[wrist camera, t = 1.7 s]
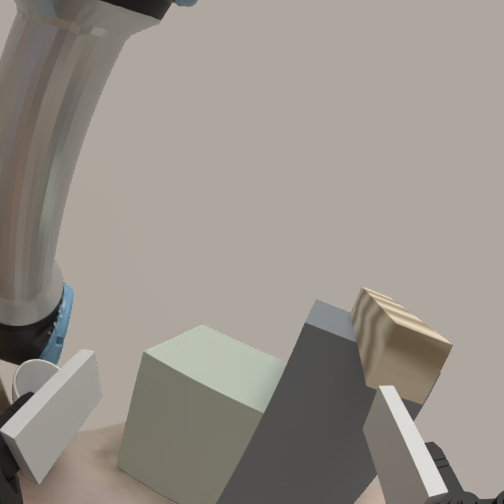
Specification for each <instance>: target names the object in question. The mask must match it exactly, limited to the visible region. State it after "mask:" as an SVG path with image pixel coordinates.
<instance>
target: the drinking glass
mask: <svg viewBox="0 0 504 504" xmlns="http://www.w3.org/2000/svg"><path fill="white" fill-rule="evenodd" d="M59 370H60V368H59V367H57V366H56V365H54V364H53V363H51V362H49V361H46V360H41V359H31V360H28V361H25V362H23V363H22V364H21V365H20V366H19V367H18V368H17V369H16V371H15V374H14V377H13V385H12V399H13V404H14V402H15V401H16V400H17V399H18V398H19V397H20V396H22V395H24V394H26V393H28V392H30V391H31V392H33V393H36V392H37V391H38V390H39V389H40V388H41V387H42V386H43V385H44V384H45V383H46V382H47V381H48V380H49V379H50V378H51V377H52V376H54V375H55V374H56V373H57V372H58V371H59Z"/></svg>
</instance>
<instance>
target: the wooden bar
mask: <svg viewBox="0 0 504 504" xmlns="http://www.w3.org/2000/svg"><path fill="white" fill-rule="evenodd" d="M350 316H351V320H352V324H353V328H354V332H355V337H356V341H357V345H358V350H359V354H360V358H361V363H362V368H363V372H364V377H365V382H366V386H368V387H371V388H374V389H376V390H377V389H378V386H394V387H395V389H396V391H397V393H398V395H399V397H400V398H403V399H406V400H410V401H413V402H416V403H419V404H422V405H423V403H424V401H425V399H426V398H427V396H428V394H429V392H430V390H431V389H432V387H433V385H434V383H435V381H436V379H437V377H438V375H439V373H440V371H441V369H442V367H443V365H444V363H445V361H446V359H447V357H448V355H449V353H450V350H451V348H452V346H453V345H452V344H451V343H450V342H448V341H447V340H446V339H444V338H443V337H441V335H439V334H438V333H437V332H435V331H434V330H433V329H431V328H430V327H429V326H427V325H426V324H425V323H423V322H422V321H420V320H419V319H418V318H417V317H415V316H414V315H413V314H411V313H410V312H409V311H407V310H406V309H405V308H403V307H402V306H401V305H399V304H398V303H397V302H395V301H394V300H393V299H391V298H389V297H388V296H385V295H382V294H380V293H377V292H375V291H372V290H370V289H367V288H365V287H361V290H360V292H359V295H358V297H357V300H356V302H355V305H354V307H353V309H352V312H351V314H350Z"/></svg>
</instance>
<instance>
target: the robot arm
mask: <svg viewBox="0 0 504 504" xmlns="http://www.w3.org/2000/svg"><path fill="white" fill-rule="evenodd" d="M14 1H15V3H16V5H17V15H16V17H15V19H14V22H13V25H12V27H11V30H10V33H9V35H8V38H7V41H6V44H5V47H4V50H3V53H2V56H1V59H0V359H1V360H3V361H6V362H9V363H13V364H16V365H19V366H20V365H21V364H22V363H23V362H25V361H28V360H31V359H41V360H46V361H49V362H51V363H53V364H54V365H57V363H58V361H59V358H60V355H61V352H62V347H63V342H64V341H63V340H64V338H65V335H66V332H67V328H68V324H69V319H70V314H71V308H72V302H73V290H72V288H70V286H68V285H66V284H65V283H64V282H63V277H62V273H61V270H60V268H59V266H58V264H57V262H56V261H55V260H54V257H55V251H56V246H57V241H58V235H59V230H60V226H61V221H62V216H63V212H64V208H65V203H66V199H67V195H68V191H69V187H70V184H71V180H72V177H73V173H74V170H75V166H76V163H77V159H78V156H79V153H80V150H81V147H82V144H83V141H84V138H85V135H86V132H87V129H88V127H89V124H90V121H91V118H92V116H93V113H94V110H95V108H96V105H97V103H98V100H99V98H100V95H101V93H102V90H103V88H104V86H105V84H106V81H107V79H108V77H109V75H110V72H111V70H112V68H113V66H114V63H115V62H116V59H117V57H118V55H119V53H120V51H121V49H122V47H123V45H124V43H125V41H126V40H127V39H128V38H129V37H130V36H131V35H133V34H135V33H137V32H140V31H142V30H144V29H147V28H149V27H152V26H155V25H157V24H159V23H160V21H161V20H162V18H163V17H164V15H165V13H166V12H167V10H168V8H169V7H170V5H171V4H172V3H176V4H177V5H178V6H187V7H190V6H193V5H195V4H196V2H197V0H14ZM101 398H102V392H101V387H100V381H99V375H98V369H97V362H96V356H95V352H93V351H90V350H86V349H81V350H80V351H79V352H77V353H76V354H75V356H73V357H72V358H71V359H70V360H69V361H68V362H67V363H66V364H65V365H64V366H63V367H62V368H61V369H60V370H59V371H58V372H57V373H56V374H55V375H54V376H52V377H51V378H50V379H49V380H48V381H47V382H46V383H45V384H44V385H43V386H42V387H41V388H40V389H39V390H38V391H37V392H36V393H33V392H31V391H30V392H28V393H26V394H24V395H22V396H20V397H19V398H18V399H17V400H16V401H15V402H14V404H12V405H11V406H10V407H9V409H7V410H6V411H5V412H4V413H3V414H2V415H1V416H0V504H23V499H22V494H21V489H20V484H19V478H18V476H17V474H16V473H17V471H18V470H19V469H20V470H21V471H22V473H23V475H24V476H25V477H26V478H27V479H29V480H31V481H33V482H35V483H37V484H38V485H40V484H41V482H42V481H43V479H44V478H45V476H46V475H47V473H48V472H49V470H50V469H51V468H52V466H53V465H54V463H55V462H56V460H57V459H58V458H59V456H60V455H61V453H62V452H63V450H64V449H65V448H66V446H67V445H68V443H69V442H70V441H71V439H72V438H73V436H74V435H75V434H76V432H77V431H78V429H79V428H80V427H81V425H82V424H83V423H84V421H85V420H86V418H87V417H88V415H89V414H90V413H91V411H92V410H93V409H94V407H95V406H96V405H97V403H98V402H99V401H100V399H101ZM363 432H364V435H365V438H366V441H367V444H368V447H369V450H370V453H371V456H372V459H373V462H374V465H375V469H376V472H377V475H378V478H379V481H380V485H381V488H382V491H383V495H384V498H385V501H386V504H504V491H503V492H501V493H500V494H499V495H498V496H497V497H496V498H495V499H479V498H478V497H477V496H476V495H474V494H473V493H470V492H464V491H463V489H462V487H461V485H460V483H459V481H458V479H457V477H456V475H455V473H454V472H453V470H452V468H451V466H449V462H448V460H447V459H446V457H445V455H444V453H443V451H442V449H441V448H440V447H438V446H437V445H436V444H435V443H434V442H428V443H424V442H423V440H422V438H421V436H420V434H419V432H418V430H417V428H416V426H415V424H414V422H413V421H412V419H411V417H410V415H409V413H408V411H407V409H406V408H405V406H404V404H403V402H402V400H401V398H400V397H399V395H398V393H397V391H396V389H395V387H394V386H378V389H377V392H376V395H375V398H374V401H373V403H372V406H371V409H370V411H369V414H368V416H367V419H366V422H365V424H364V427H363Z"/></svg>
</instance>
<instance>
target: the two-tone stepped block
mask: <svg viewBox="0 0 504 504" xmlns="http://www.w3.org/2000/svg"><path fill="white" fill-rule="evenodd" d="M350 314H351V313H350V312H347V311H345V310H342V309H339V308H337V307H334V306H332V305H329V304H327V303H324V302H322V301H319V300H316V301H315V303H314V305H313V307H312V309H311V311H310V313H309V315H308V318H307V319H306V321H305V324H304V326H303V328H302V331H301V333H300V335H299V338H298V340H297V343H296V345H295V347H294V349H293V352H292V354H291V356H290V358H289V361H288V362H285V361H283V360H281V359H278V358H276V357H274V356H271V355H269V354H266V353H264V352H262V351H259V350H257V349H255V348H253V347H251V346H248V345H246V344H244V343H242V342H239V341H237V340H235V339H233V338H231V337H228V336H226V335H224V334H222V333H220V332H218V331H216V330H214V329H212V328H210V327H207V326H205V325H203V324H202V325H200V326H198V327H196V328H194V329H192V330H189V331H187V332H185V333H183V334H181V335H179V336H176V337H174V338H172V339H170V340H168V341H166V342H163V343H161V344H159V345H157V346H154V347H152V348H150V349H148V350H145V351H144V352H143V356H142V360H141V363H140V368H139V371H138V375H137V379H136V383H135V387H134V391H133V395H132V399H131V404H130V408H129V412H128V416H127V421H126V425H125V430H124V434H123V439H122V444H121V449H120V454H119V459H118V464H117V467H119V468H120V469H122V470H123V471H124V472H126V473H127V474H129V475H130V476H132V477H133V478H135V479H137V480H138V481H140V482H141V483H143V484H145V485H146V486H148V487H149V488H151V489H153V490H154V491H156V492H158V493H160V494H161V495H163V496H165V497H167V498H168V499H170V500H172V501H174V502H176V503H177V504H354V502H355V501H356V500H357V499H358V498H359V497H360V495H361V494H362V493H363V492H364V490H365V489H366V488H367V487H368V486H369V484H370V483H371V482H372V480H373V479H374V478H375V477H376V475H377V472H376V469H375V465H374V462H373V459H372V456H371V453H370V450H369V447H368V444H367V441H366V438H365V435H364V432H363V427H364V424H365V422H366V419H367V416H368V414H369V411H370V409H371V406H372V403H373V401H374V398H375V395H376V392H377V390H376V389H374V388H371V387H368V386H366V382H365V377H364V372H363V368H362V363H361V358H360V354H359V350H358V345H357V341H356V337H355V332H354V328H353V324H352V320H351V316H350ZM439 375H440V373H439ZM439 375H438V377H439ZM438 377H437V379H438ZM437 379H436V381H437ZM436 381H435V383H436ZM435 383H434V385H435ZM434 385H433V387H434ZM433 387H432V388H433ZM431 390H432V389H431ZM431 390H430V392H431ZM430 392H429V394H430ZM429 394H428V396H429ZM428 396H427V398H428ZM427 398H426V399H425V401H426V400H427ZM401 400H402V402H403V404H404V406H405V408H406V409H407V411H408V413H409V415H410V417H411V419H412V421H413V422H414V420H415V418H416V417H417V415H418V413H419V412H420V410H421V408H422V407H423V405H424V403H425V401H424V403H423V405H422V404H419V403H416V402H413V401H410V400H406V399H403V398H401Z"/></svg>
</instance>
